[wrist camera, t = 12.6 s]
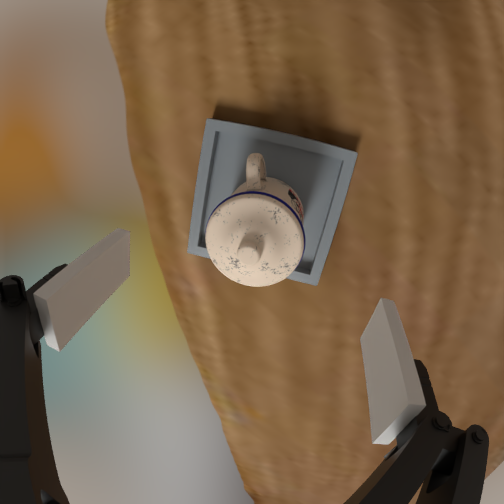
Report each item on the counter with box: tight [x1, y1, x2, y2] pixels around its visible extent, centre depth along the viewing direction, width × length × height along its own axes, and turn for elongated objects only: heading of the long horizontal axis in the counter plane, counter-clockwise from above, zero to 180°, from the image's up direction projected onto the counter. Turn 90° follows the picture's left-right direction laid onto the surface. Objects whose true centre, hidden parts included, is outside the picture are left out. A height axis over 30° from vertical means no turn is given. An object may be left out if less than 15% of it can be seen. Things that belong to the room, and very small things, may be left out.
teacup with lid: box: [205, 153, 306, 286], centre depth 30 cm, size 12×9×12 cm
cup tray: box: [187, 118, 358, 286], centre depth 34 cm, size 16×16×2 cm
